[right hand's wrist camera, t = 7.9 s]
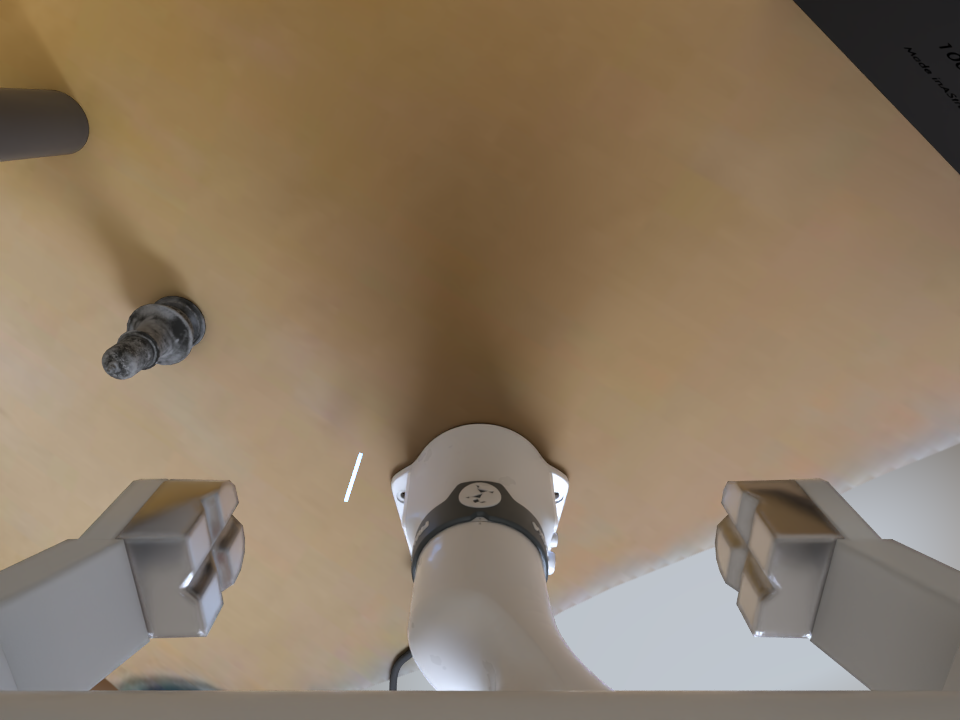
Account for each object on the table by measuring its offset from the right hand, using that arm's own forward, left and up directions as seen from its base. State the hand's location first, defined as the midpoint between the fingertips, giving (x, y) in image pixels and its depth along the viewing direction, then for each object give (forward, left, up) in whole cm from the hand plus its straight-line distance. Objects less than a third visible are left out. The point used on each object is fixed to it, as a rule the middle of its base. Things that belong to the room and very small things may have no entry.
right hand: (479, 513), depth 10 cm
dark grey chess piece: (-13, +29, -48) cm, 58 cm away
